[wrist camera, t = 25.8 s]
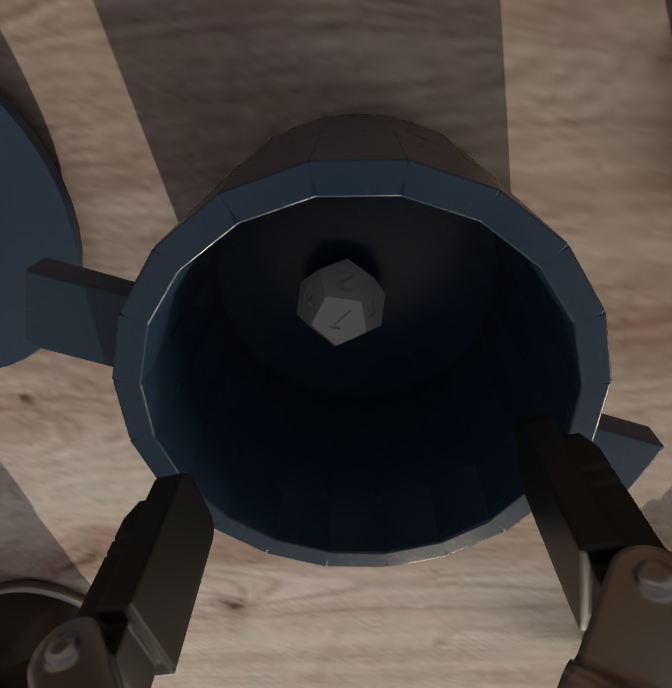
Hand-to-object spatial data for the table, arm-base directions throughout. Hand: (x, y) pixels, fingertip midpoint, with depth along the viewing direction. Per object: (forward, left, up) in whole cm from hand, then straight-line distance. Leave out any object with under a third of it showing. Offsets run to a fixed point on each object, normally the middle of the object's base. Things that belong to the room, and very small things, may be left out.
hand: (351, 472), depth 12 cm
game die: (0, 0, -11) cm, 12 cm away
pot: (0, 0, -12) cm, 12 cm away
